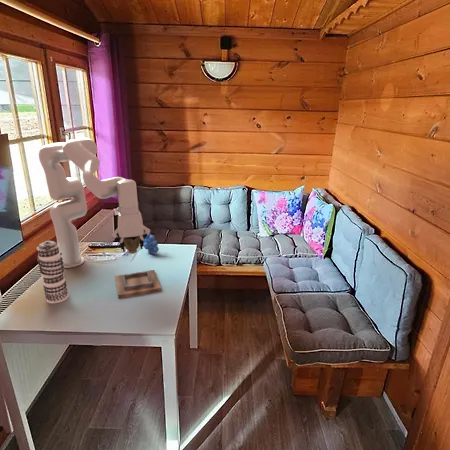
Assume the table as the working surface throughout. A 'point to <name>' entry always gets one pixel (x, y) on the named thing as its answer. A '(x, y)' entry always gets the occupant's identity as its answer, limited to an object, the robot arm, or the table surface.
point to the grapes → (151, 244)
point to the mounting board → (137, 283)
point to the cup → (132, 244)
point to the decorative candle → (52, 272)
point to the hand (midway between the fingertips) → (132, 248)
